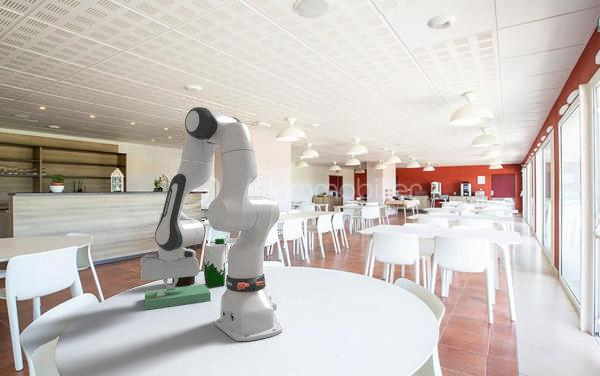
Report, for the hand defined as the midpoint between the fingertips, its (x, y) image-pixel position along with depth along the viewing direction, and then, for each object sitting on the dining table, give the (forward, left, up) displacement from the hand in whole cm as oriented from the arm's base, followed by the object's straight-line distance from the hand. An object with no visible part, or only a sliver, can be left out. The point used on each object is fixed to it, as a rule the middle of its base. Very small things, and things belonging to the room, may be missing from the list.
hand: (170, 290), depth 120 cm
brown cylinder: (+23, -7, -4) cm, 24 cm away
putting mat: (0, -2, -4) cm, 5 cm away
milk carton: (+15, -19, -4) cm, 25 cm away
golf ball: (0, +3, -2) cm, 4 cm away
